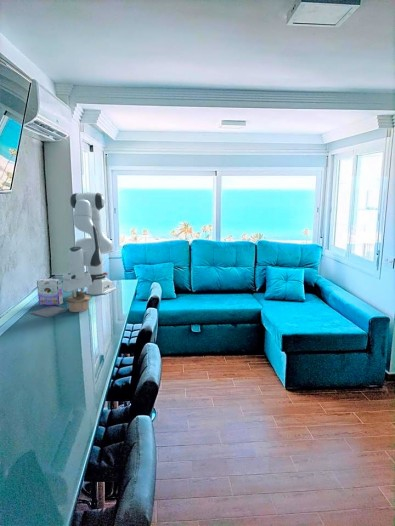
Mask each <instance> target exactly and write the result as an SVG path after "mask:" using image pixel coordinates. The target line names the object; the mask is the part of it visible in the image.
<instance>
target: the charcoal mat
mask: <svg viewBox="0 0 395 526" xmlns="http://www.w3.org/2000/svg"><path fill="white" fill-rule="evenodd" d="M68 311H69V308H68V309H67V308H63V307H58V306H56V305H48V306H46V307H44V308H40V309H37V310H34V311H30V314H31V315H34V316H39V317H43V318H46V319H49V318H52V317H53V316H56V315H60V314H62V313H65V312H68Z"/></svg>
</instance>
